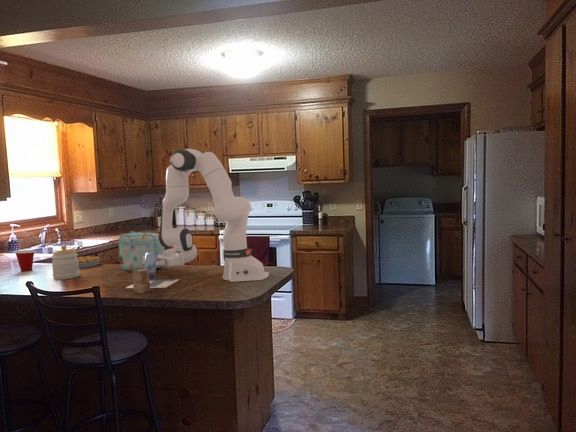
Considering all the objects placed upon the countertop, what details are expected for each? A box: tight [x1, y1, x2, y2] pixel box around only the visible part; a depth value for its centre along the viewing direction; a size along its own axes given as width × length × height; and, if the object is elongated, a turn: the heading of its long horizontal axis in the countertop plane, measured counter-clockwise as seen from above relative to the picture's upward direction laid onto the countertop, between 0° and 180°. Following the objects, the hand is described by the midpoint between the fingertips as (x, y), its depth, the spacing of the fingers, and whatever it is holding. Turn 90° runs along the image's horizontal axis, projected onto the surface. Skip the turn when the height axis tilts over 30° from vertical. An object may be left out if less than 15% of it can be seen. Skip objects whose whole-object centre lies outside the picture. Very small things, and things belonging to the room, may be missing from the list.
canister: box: [144, 252, 158, 279], centre depth 220 cm, size 6×6×11 cm
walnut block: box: [131, 269, 151, 294], centre depth 207 cm, size 5×5×10 cm
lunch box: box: [117, 230, 166, 271], centre depth 263 cm, size 27×10×21 cm, turn 72°
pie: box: [77, 255, 101, 269], centre depth 286 cm, size 22×22×5 cm
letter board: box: [125, 278, 180, 289], centre depth 223 cm, size 20×16×1 cm
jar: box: [50, 244, 80, 281], centre depth 251 cm, size 13×13×18 cm
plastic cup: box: [14, 249, 36, 272], centre depth 279 cm, size 11×11×12 cm
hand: (149, 263), depth 219 cm, fingers closed on canister, 6 cm apart
